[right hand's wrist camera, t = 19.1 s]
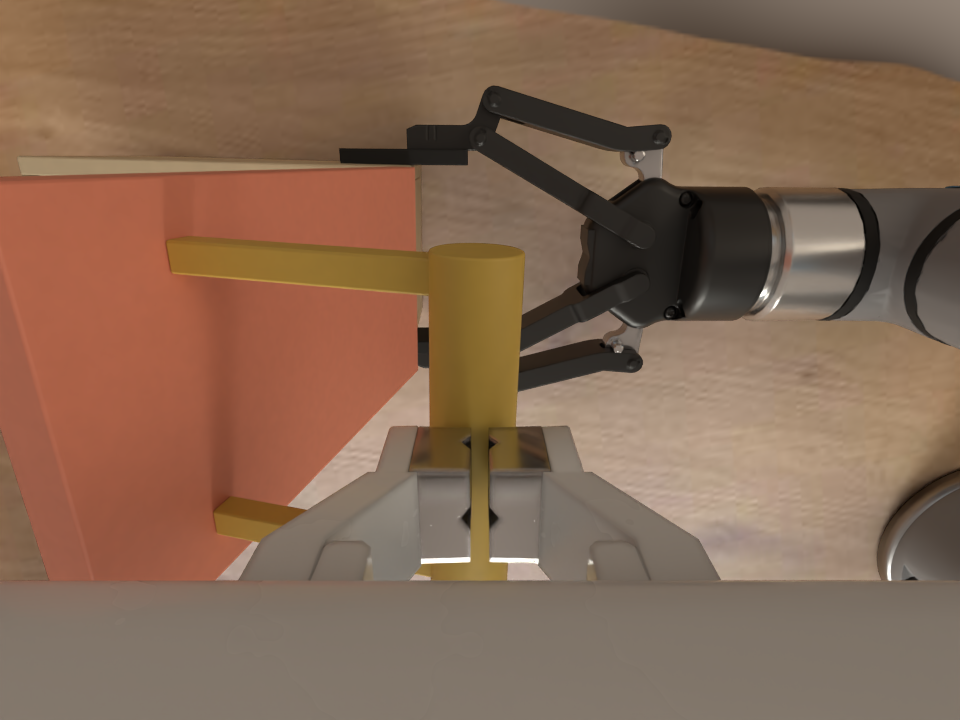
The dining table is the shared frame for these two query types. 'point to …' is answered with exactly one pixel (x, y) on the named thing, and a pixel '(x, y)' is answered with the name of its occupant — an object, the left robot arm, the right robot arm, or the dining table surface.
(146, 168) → the chest
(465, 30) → the dining table surface
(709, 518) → the dining table surface
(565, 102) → the dining table surface
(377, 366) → the lid
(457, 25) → the dining table surface
